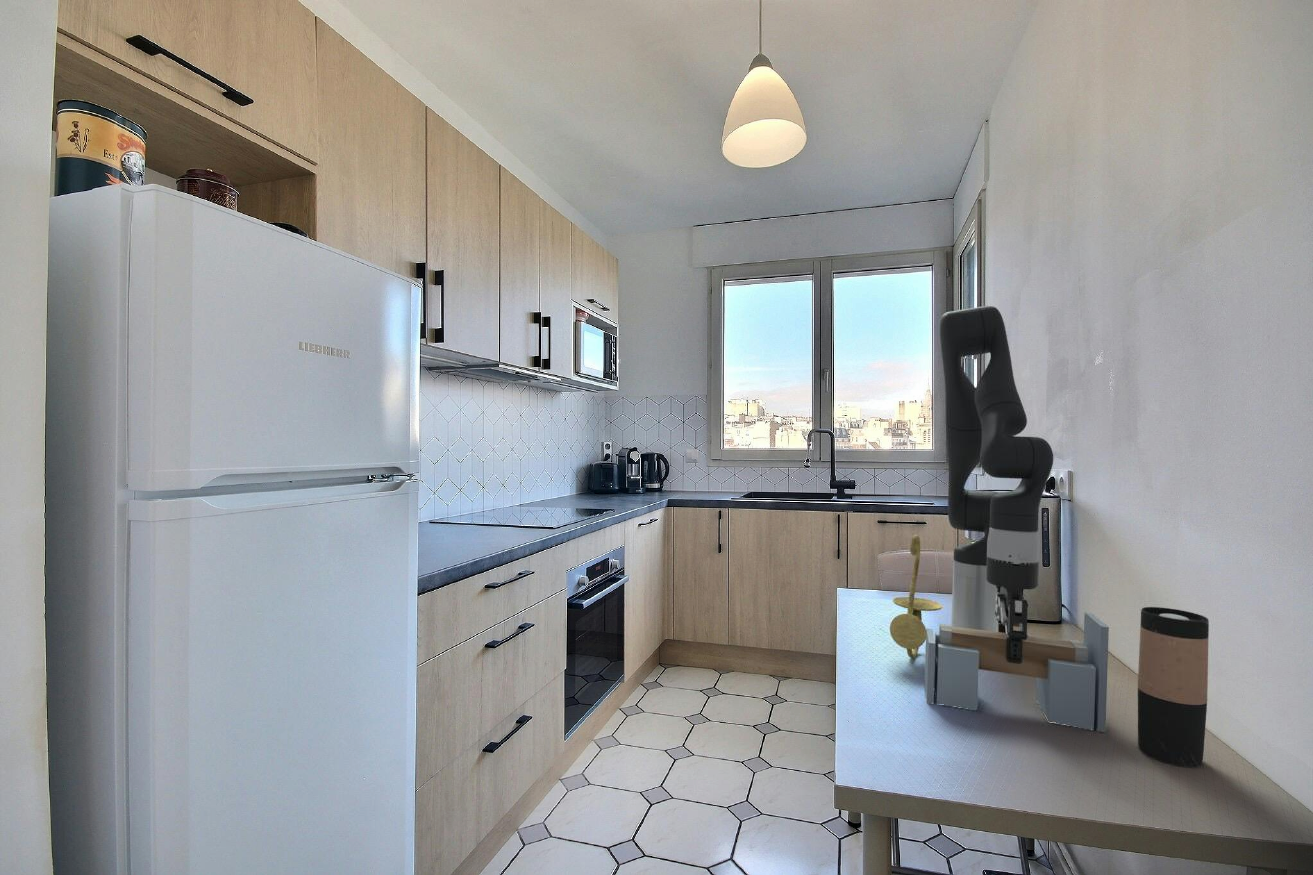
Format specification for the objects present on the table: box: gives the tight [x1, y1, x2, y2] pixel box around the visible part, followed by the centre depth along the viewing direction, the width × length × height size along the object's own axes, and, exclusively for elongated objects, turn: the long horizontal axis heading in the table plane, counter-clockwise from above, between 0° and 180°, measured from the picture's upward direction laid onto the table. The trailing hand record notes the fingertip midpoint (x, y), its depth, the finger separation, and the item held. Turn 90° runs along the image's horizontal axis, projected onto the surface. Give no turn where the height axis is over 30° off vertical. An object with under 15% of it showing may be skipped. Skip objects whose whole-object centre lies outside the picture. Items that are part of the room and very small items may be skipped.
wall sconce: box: [889, 534, 944, 659], centre depth 128 cm, size 14×10×25 cm
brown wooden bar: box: [938, 623, 1088, 679], centre depth 105 cm, size 4×21×6 cm, turn 69°
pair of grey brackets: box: [924, 611, 1110, 733], centre depth 105 cm, size 9×25×16 cm, turn 69°
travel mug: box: [1137, 606, 1210, 768], centre depth 90 cm, size 8×8×20 cm
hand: (1009, 654), depth 105 cm, fingers open, 8 cm apart
